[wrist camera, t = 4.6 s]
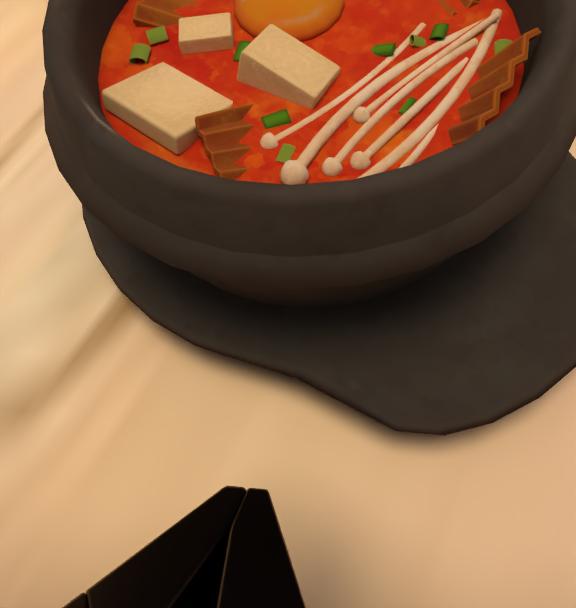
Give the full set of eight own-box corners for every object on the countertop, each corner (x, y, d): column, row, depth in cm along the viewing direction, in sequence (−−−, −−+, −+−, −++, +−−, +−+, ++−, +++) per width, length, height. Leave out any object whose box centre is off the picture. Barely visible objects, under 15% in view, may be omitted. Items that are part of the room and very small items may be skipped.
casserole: (700, 219, 19) (952, 21, 12) (368, 580, 15) (413, 646, 7) (278, -48, 28) (260, -266, 20) (-10, 136, 23) (-172, -48, 16)
